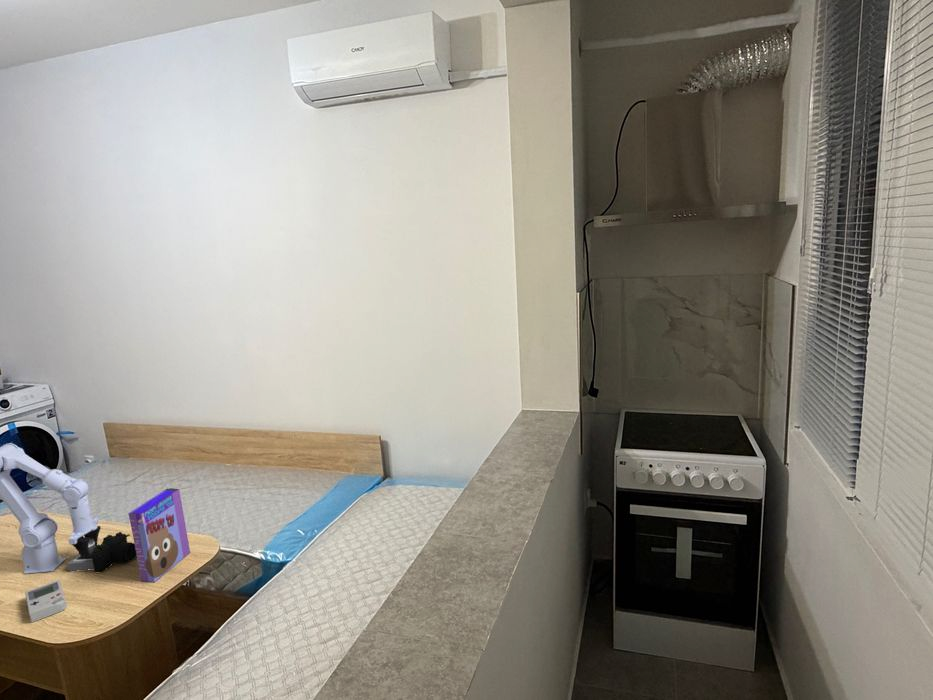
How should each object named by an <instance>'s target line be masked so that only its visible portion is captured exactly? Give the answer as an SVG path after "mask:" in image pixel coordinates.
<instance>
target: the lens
mask: <svg viewBox="0 0 933 700" xmlns="http://www.w3.org/2000/svg"><path fill="white" fill-rule="evenodd" d="M94 547H95V542H94V539H89V543H88V549H89V556H88V557H81V559H82V560H83V559H92V557H91V554H92V552H93V549H94Z"/></svg>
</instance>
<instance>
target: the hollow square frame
mask: <svg viewBox="0 0 933 700" xmlns="http://www.w3.org/2000/svg"><path fill="white" fill-rule="evenodd" d="M67 568H68V573H72V572H71V571H74V572H78V571H77V570H85V571H89V570H88V569H94V566H93V562H92V559H83V560H82V559H81V556H80V554H79V552H78V553H77V554H76V555H75V556H74V557H73V558H72V559H71V560H70V561H69V562H67Z"/></svg>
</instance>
